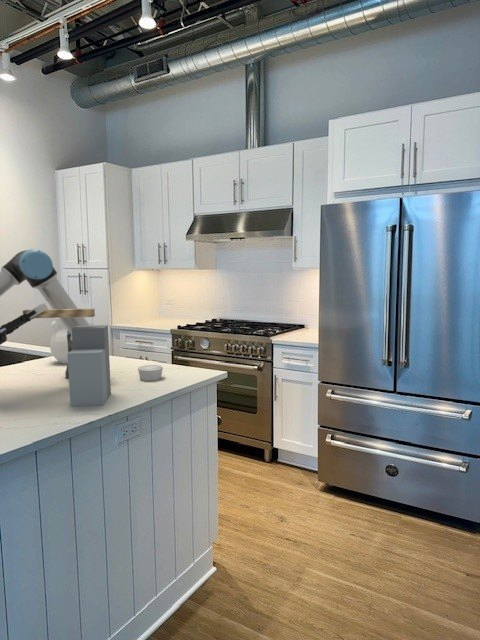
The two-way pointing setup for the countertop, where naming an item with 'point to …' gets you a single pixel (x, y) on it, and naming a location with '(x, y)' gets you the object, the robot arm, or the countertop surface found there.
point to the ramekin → (150, 372)
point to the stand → (89, 366)
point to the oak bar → (64, 313)
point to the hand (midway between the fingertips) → (44, 306)
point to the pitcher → (59, 341)
